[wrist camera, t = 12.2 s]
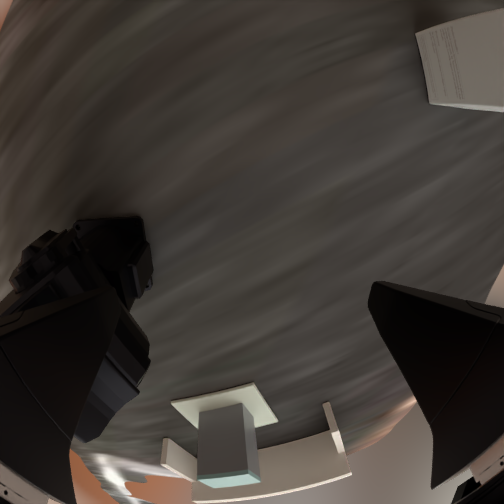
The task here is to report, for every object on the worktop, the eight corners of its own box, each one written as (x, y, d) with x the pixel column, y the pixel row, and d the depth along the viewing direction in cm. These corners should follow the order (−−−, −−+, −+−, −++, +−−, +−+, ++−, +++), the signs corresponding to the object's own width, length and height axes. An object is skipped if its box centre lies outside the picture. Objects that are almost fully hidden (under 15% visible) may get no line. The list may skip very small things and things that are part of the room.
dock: (163, 438, 35) (158, 486, 27) (329, 401, 33) (346, 455, 25) (198, 462, 40) (197, 503, 32) (338, 431, 38) (352, 474, 30)
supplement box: (475, 110, 18) (573, 129, 7) (426, 104, 18) (543, 115, 7) (463, 45, 15) (557, 39, 4) (412, 30, 15) (516, 3, 4)
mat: (171, 401, 30) (170, 403, 30) (253, 382, 30) (253, 384, 29) (206, 434, 35) (206, 436, 34) (277, 419, 34) (278, 421, 33)
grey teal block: (198, 412, 31) (196, 479, 22) (242, 402, 31) (248, 473, 22) (212, 425, 33) (213, 488, 24) (253, 416, 32) (261, 482, 23)
